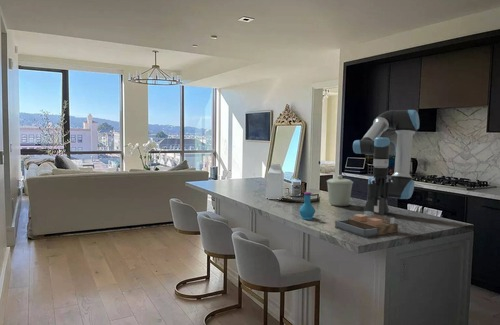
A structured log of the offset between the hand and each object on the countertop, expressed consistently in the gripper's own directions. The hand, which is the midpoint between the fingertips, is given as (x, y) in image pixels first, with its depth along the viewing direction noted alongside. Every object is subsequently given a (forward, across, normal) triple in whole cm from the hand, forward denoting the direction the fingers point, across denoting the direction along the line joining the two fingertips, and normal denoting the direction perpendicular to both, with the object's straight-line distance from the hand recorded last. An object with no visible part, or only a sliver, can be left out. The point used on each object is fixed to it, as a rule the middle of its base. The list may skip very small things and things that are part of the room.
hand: (378, 211), depth 199 cm
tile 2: (+5, -8, -5) cm, 11 cm away
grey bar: (+5, 0, 0) cm, 5 cm away
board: (+9, -5, 0) cm, 10 cm away
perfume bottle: (+9, -20, +35) cm, 41 cm away
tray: (+9, -16, 0) cm, 19 cm away
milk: (+9, -2, +98) cm, 98 cm away
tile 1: (+5, -8, +5) cm, 11 cm away
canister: (+9, +25, +58) cm, 64 cm away
